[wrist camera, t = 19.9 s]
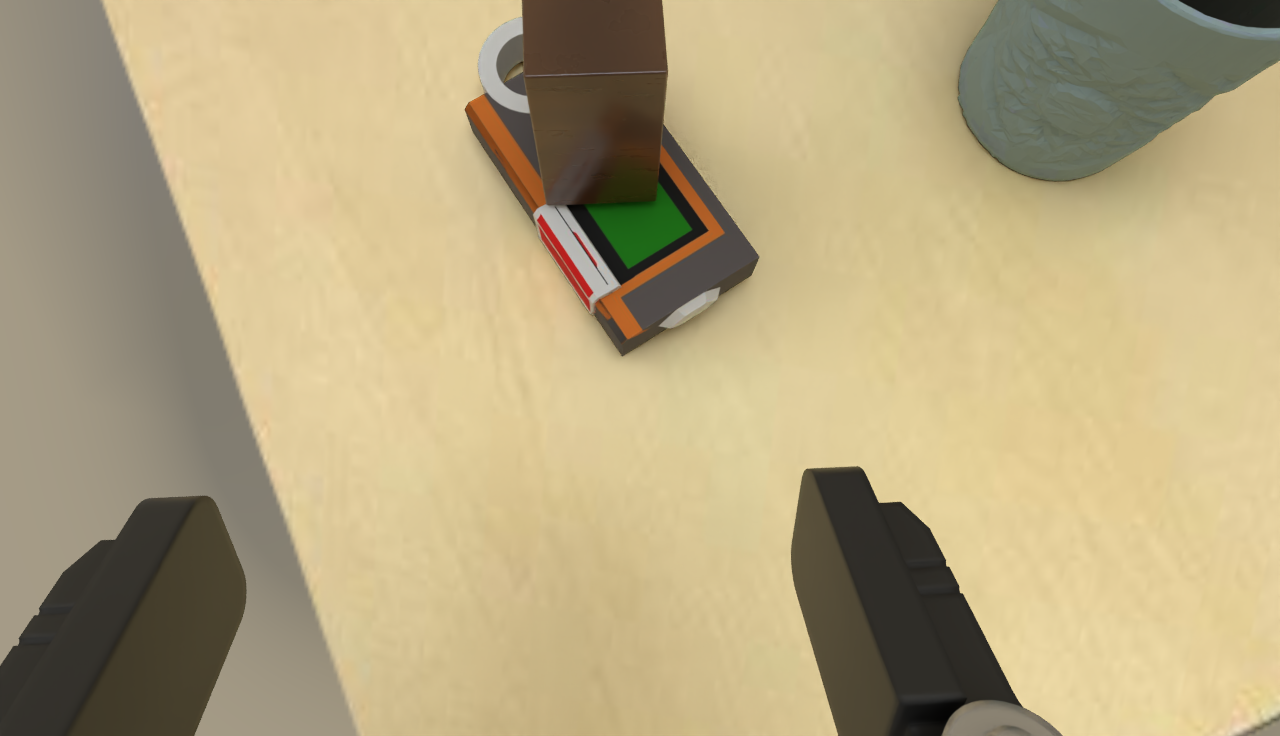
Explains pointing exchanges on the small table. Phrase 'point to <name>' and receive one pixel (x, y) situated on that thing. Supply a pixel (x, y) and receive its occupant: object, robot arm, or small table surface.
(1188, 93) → the green cup
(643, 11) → the walnut block
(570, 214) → the electronic device
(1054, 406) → the small table surface
